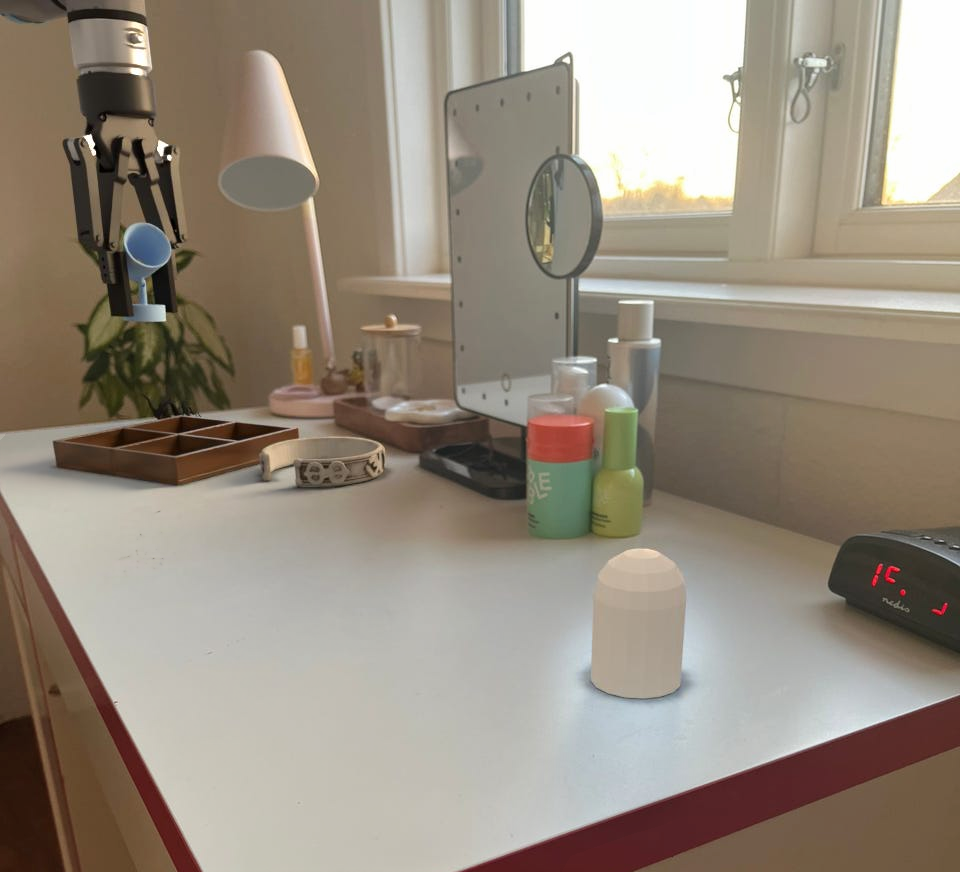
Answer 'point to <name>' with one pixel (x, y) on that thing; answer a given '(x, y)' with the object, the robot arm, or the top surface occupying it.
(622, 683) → the cream domed cylinder
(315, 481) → the bracelet
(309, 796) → the top surface
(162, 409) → the creature
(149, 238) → the spotlight
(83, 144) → the robot arm
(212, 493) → the top surface
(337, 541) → the top surface
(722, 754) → the top surface
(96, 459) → the tray
